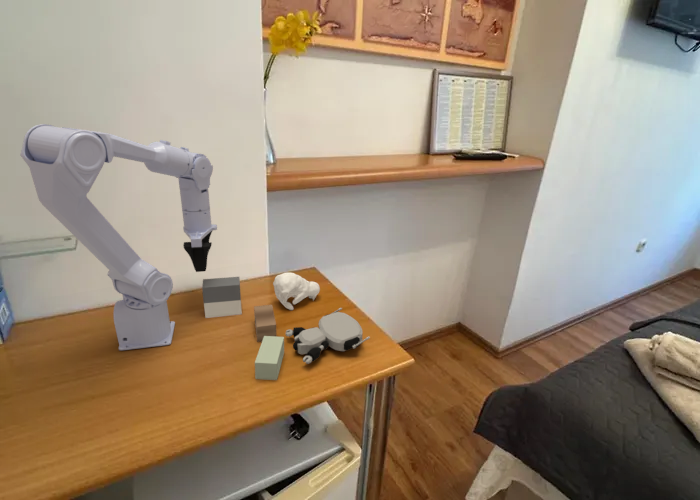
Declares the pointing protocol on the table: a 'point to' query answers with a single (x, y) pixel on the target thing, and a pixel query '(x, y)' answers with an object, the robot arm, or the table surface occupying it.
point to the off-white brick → (222, 308)
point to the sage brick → (269, 358)
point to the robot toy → (327, 335)
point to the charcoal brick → (221, 289)
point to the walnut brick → (264, 321)
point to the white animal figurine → (294, 288)
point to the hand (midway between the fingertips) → (201, 263)
